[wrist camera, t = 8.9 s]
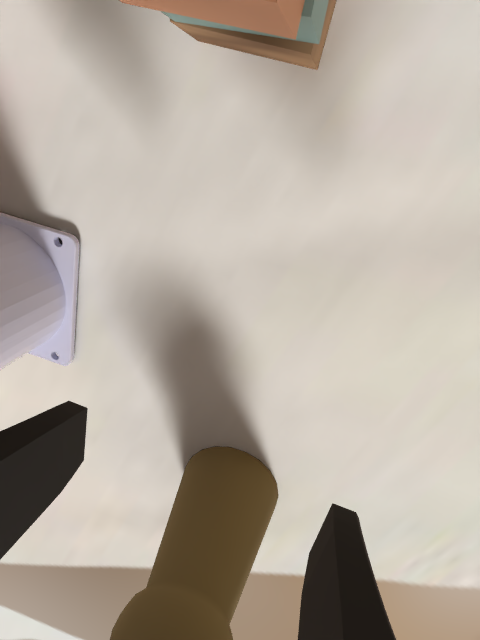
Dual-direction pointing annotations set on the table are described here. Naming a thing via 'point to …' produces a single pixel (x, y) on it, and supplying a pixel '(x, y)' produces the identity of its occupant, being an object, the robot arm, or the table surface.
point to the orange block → (237, 13)
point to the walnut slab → (264, 42)
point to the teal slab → (306, 32)
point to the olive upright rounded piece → (204, 550)
